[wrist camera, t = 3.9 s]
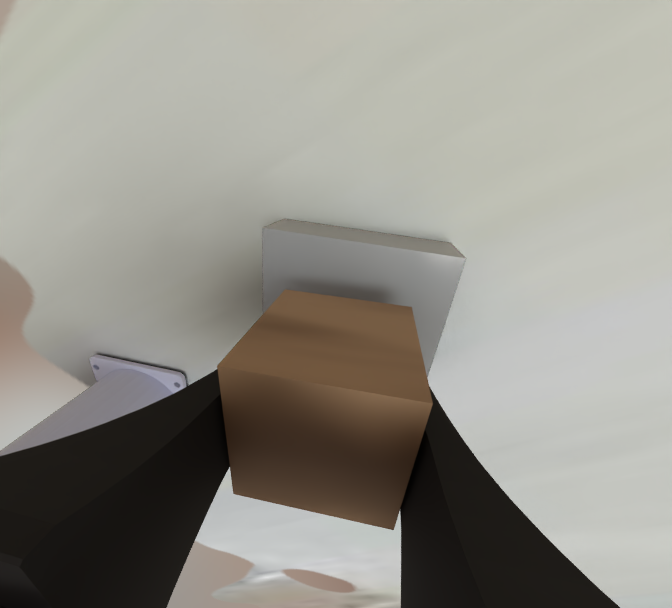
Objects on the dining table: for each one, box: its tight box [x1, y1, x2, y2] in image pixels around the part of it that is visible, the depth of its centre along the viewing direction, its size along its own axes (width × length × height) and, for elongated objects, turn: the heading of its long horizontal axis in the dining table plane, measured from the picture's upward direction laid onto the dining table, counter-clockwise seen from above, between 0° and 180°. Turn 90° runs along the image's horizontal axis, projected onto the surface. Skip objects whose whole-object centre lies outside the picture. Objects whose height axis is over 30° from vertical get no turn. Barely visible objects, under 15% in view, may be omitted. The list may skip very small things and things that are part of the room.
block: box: [217, 289, 433, 530], centre depth 10 cm, size 5×5×5 cm
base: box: [262, 219, 466, 377], centre depth 15 cm, size 9×9×3 cm
